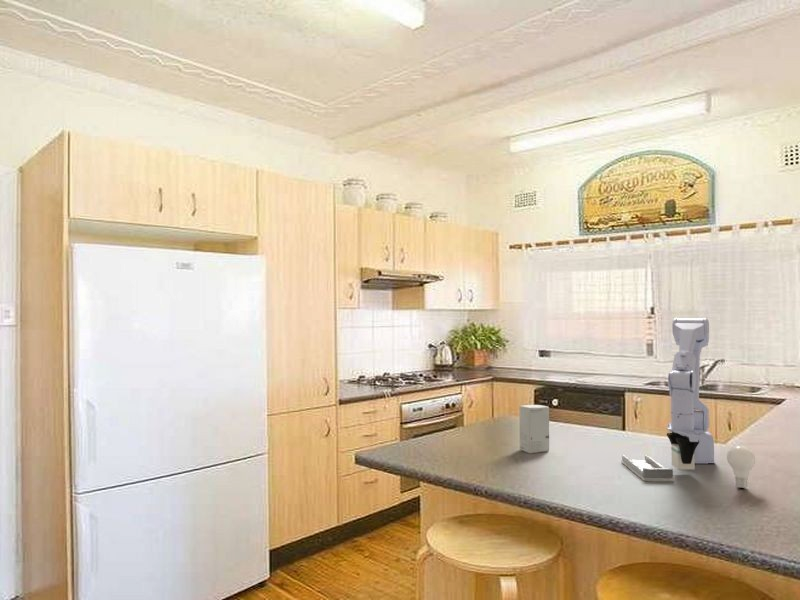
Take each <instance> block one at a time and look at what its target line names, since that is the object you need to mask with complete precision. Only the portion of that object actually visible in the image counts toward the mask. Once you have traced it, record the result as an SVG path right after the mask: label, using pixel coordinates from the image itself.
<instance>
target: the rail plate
mask: <svg viewBox="0 0 800 600" xmlns="http://www.w3.org/2000/svg"><path fill="white" fill-rule="evenodd" d="M621 457H622V458H621V463H622V465H624V466H625V467H626V468H628V469H629V470H630V471H631V472H632V473H634V474H635V475H636V476H637V477H638V478H640V479H641V481H643V482H675V478H674V470H673V468H672V467H671V468H669V467H668V468H667V467H665V466H663V465H662V464H661V463H659V462H658V461H656V459H653V458H652V457H651V456H649V455H647V454H645V455H644V459H630V458H629V457H628V456H627V455H625V454H622V455H621Z"/></svg>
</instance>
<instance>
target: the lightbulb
mask: <svg viewBox="0 0 800 600" xmlns="http://www.w3.org/2000/svg"><path fill="white" fill-rule="evenodd" d="M726 460H727V462H728V464H729V466H730V467H731V469H732V472H733V475H734V476H735V477H734V478H735V486H736V487H738V489H740V488H744V489H746V488H748V478H749V476H750V475H749V474H750V473H751V471H752V469H753V468H754V467H755V464H756V456H755V454H754V452H753V451H752V450H751V449H750V448H748V447H746V446H743V445H735V446H732V447H731V448H730V449H729V450H728V452H727V454H726Z"/></svg>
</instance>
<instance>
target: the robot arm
mask: <svg viewBox="0 0 800 600" xmlns="http://www.w3.org/2000/svg"><path fill="white" fill-rule="evenodd" d="M671 327H672V329H671V330H672V335H673V340H674V342H675V344H676V345H677V346H678V347H679V348H678V351H677V352H676V353H675V354H673V355H674V356H673V362H672V367H671V368H672V369H671V371H669V372H668V376H667V385H668V391H669V392H668V393H669V397H670V422H668V423H667V427H666V430H667V431H668V432H667V433H666V436H667V437H668V439H669V442H670V444H671V446H672V444H678V445H679V448H680V453H681V460H682V463H683V464H691V462H692V458H693V454H694V451H695V454H694V464H708V463H715V464H716V461H715V441H714V437H713V434H712V433H711V432H709V429H710V412H709V411H710V409H709V407H708V406H707V404H705V403H704V402H702V400H700V370H701V369H700V366H701V365H700V362H701V361H700V360H701V358H700V357H701V354H702V353H701V352H702V349H703V348H705V347H707V346H708V345H709V341H710V322H709V319H708V318H707V317H704V318H703V317H702V318H697V317H696V318H692V317H691V318H689V317H688V318H687V317H685V318H683V317H680V318H679V317H675V318H673V320H672V326H671Z"/></svg>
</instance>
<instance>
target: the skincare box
mask: <svg viewBox="0 0 800 600" xmlns="http://www.w3.org/2000/svg"><path fill="white" fill-rule="evenodd" d="M518 407H519V450H520V451H523V452H525V453H527V454H536V453H541V452H542V453H543V452H550V407H549V406H547V405H541V404H527V405H525V404H524V405H523V404H522V405H519V406H518Z"/></svg>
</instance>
